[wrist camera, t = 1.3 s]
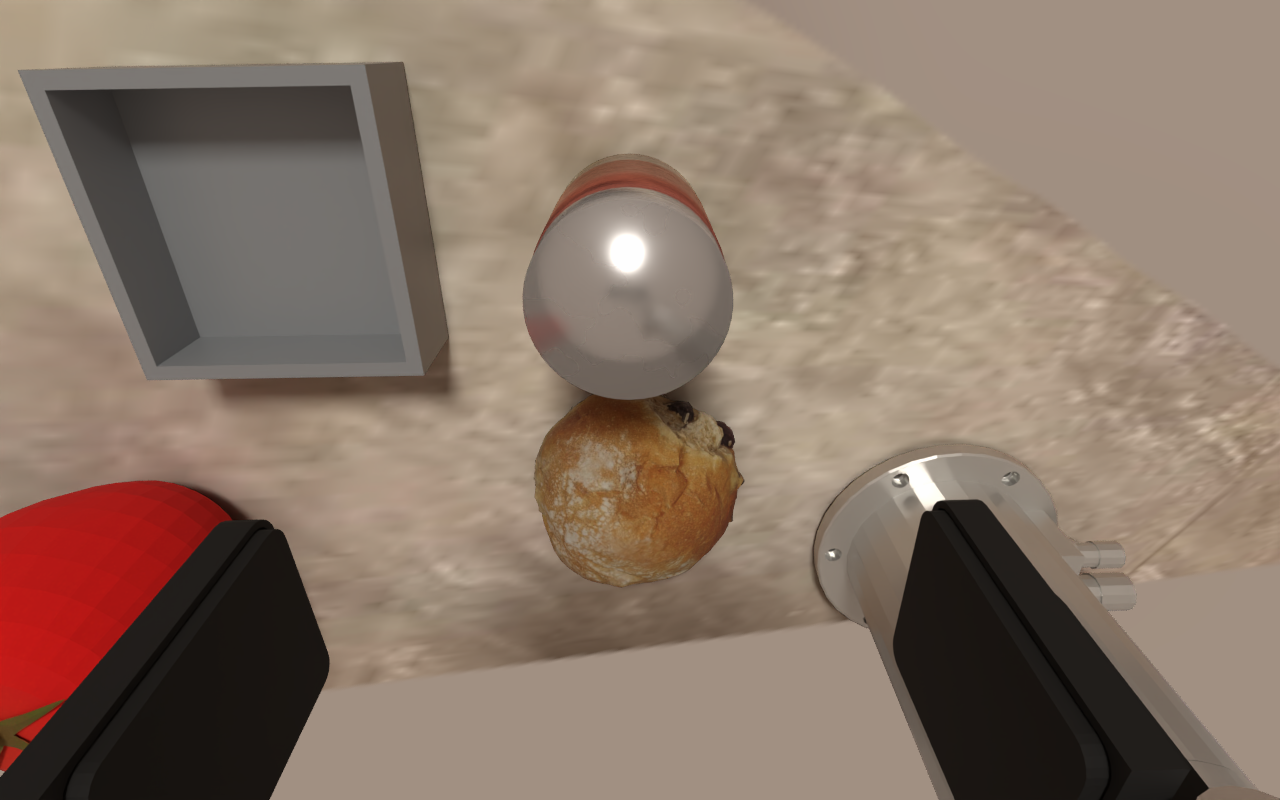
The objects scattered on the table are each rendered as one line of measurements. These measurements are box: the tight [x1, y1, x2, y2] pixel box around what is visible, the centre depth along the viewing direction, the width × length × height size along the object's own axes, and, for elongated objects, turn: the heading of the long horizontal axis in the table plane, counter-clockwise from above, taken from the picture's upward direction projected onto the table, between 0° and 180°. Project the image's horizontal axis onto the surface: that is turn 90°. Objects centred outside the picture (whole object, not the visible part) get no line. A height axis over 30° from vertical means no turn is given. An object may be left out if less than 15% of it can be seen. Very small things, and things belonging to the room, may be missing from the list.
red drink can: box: [523, 154, 733, 400], centre depth 24 cm, size 6×6×9 cm
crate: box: [18, 62, 449, 380], centre depth 26 cm, size 11×11×4 cm
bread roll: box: [534, 395, 744, 587], centre depth 32 cm, size 10×10×8 cm
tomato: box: [0, 481, 232, 771], centre depth 30 cm, size 12×12×13 cm
